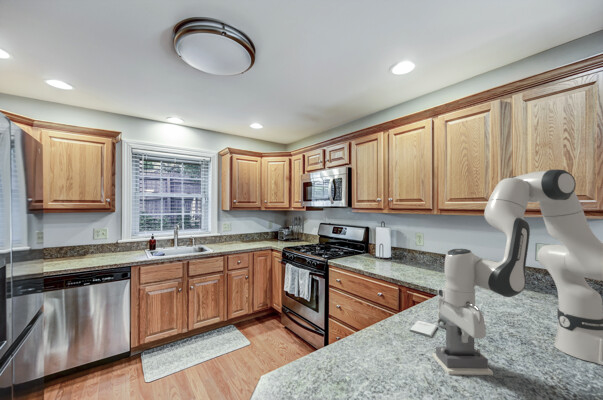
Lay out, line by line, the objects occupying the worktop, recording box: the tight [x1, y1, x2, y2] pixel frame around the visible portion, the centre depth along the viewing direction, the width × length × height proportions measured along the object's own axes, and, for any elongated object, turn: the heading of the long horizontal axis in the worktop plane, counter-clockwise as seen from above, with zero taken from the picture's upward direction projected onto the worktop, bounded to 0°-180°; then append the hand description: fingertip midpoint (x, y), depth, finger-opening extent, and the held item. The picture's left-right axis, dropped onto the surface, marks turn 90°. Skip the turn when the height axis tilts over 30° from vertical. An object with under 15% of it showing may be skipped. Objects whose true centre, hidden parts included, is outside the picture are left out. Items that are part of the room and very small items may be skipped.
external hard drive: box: [409, 320, 438, 339], centre depth 111 cm, size 2×8×12 cm
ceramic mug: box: [436, 311, 451, 330], centre depth 114 cm, size 11×8×8 cm
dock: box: [432, 346, 494, 376], centre depth 85 cm, size 14×10×5 cm
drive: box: [445, 322, 475, 356], centre depth 85 cm, size 8×2×10 cm, turn 89°
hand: (460, 338), depth 85 cm, fingers closed on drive, 2 cm apart
